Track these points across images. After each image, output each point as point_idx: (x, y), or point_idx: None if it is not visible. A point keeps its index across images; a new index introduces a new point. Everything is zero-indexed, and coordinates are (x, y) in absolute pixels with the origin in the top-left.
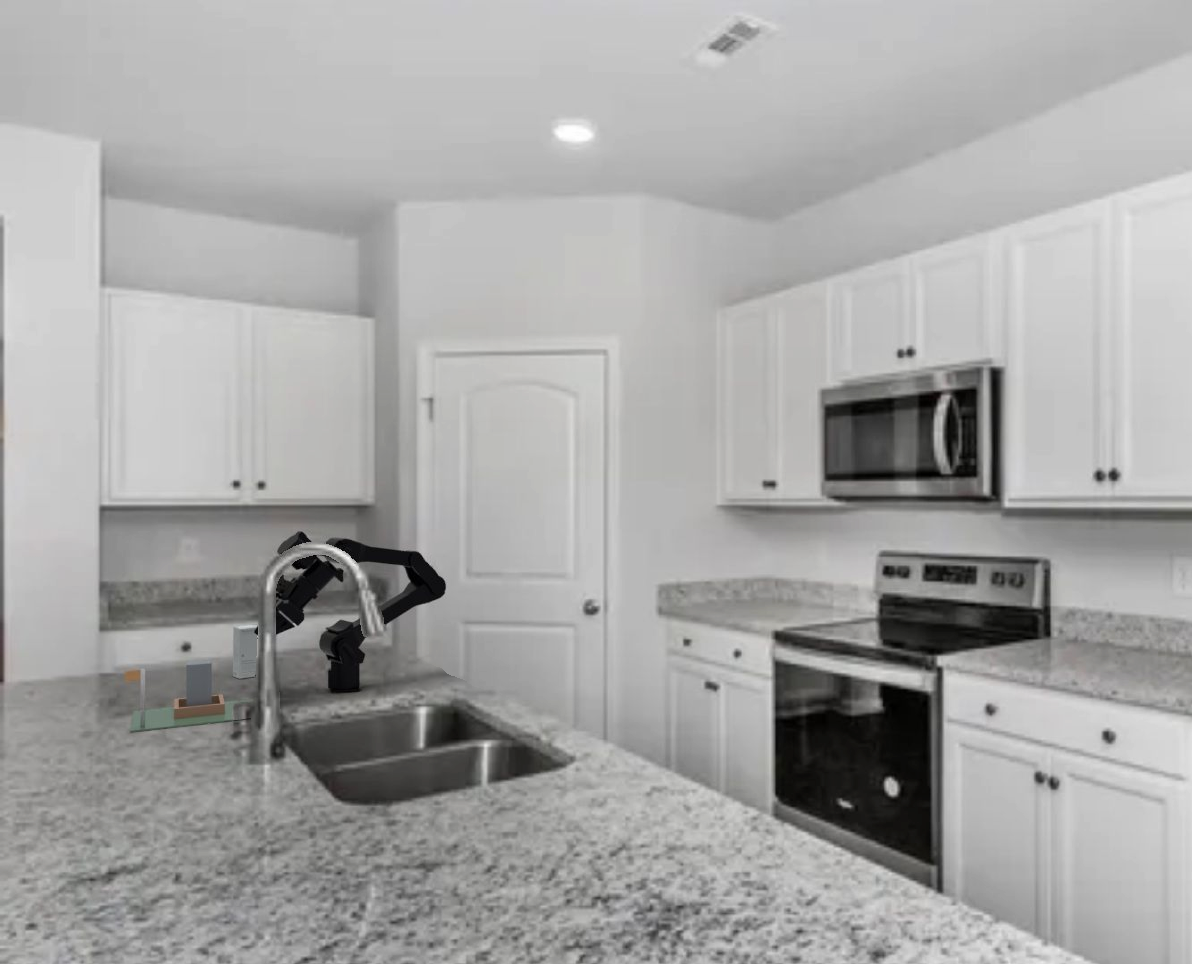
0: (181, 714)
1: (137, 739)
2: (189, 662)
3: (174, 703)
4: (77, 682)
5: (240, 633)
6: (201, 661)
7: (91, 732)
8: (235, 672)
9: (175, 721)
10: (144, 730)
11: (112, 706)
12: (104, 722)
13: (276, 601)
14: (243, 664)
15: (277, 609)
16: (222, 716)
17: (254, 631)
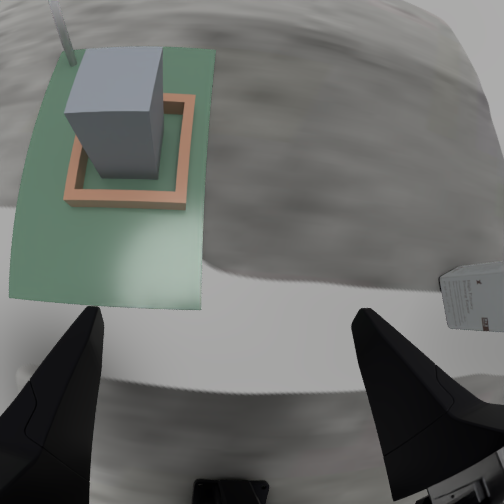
0: None
1: (15, 70)
2: (129, 53)
3: None
4: (452, 61)
5: None
6: (121, 83)
7: (108, 12)
8: (458, 269)
9: None
10: (55, 69)
11: (288, 37)
12: (165, 19)
13: (496, 484)
14: (463, 284)
15: (445, 475)
16: (50, 200)
17: (363, 311)
